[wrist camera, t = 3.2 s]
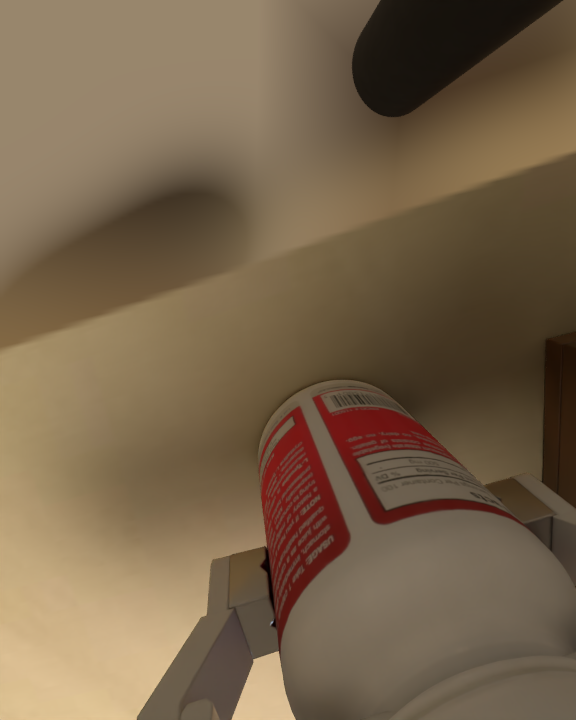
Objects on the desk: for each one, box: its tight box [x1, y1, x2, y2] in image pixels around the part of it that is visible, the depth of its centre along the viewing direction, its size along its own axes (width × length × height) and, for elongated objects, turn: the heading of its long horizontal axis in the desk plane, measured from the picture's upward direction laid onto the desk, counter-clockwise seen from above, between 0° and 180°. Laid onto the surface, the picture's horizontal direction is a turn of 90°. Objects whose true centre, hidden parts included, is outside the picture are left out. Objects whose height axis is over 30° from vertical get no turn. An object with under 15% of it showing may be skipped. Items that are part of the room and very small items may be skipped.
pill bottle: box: [258, 380, 576, 720], centre depth 10 cm, size 6×6×11 cm
